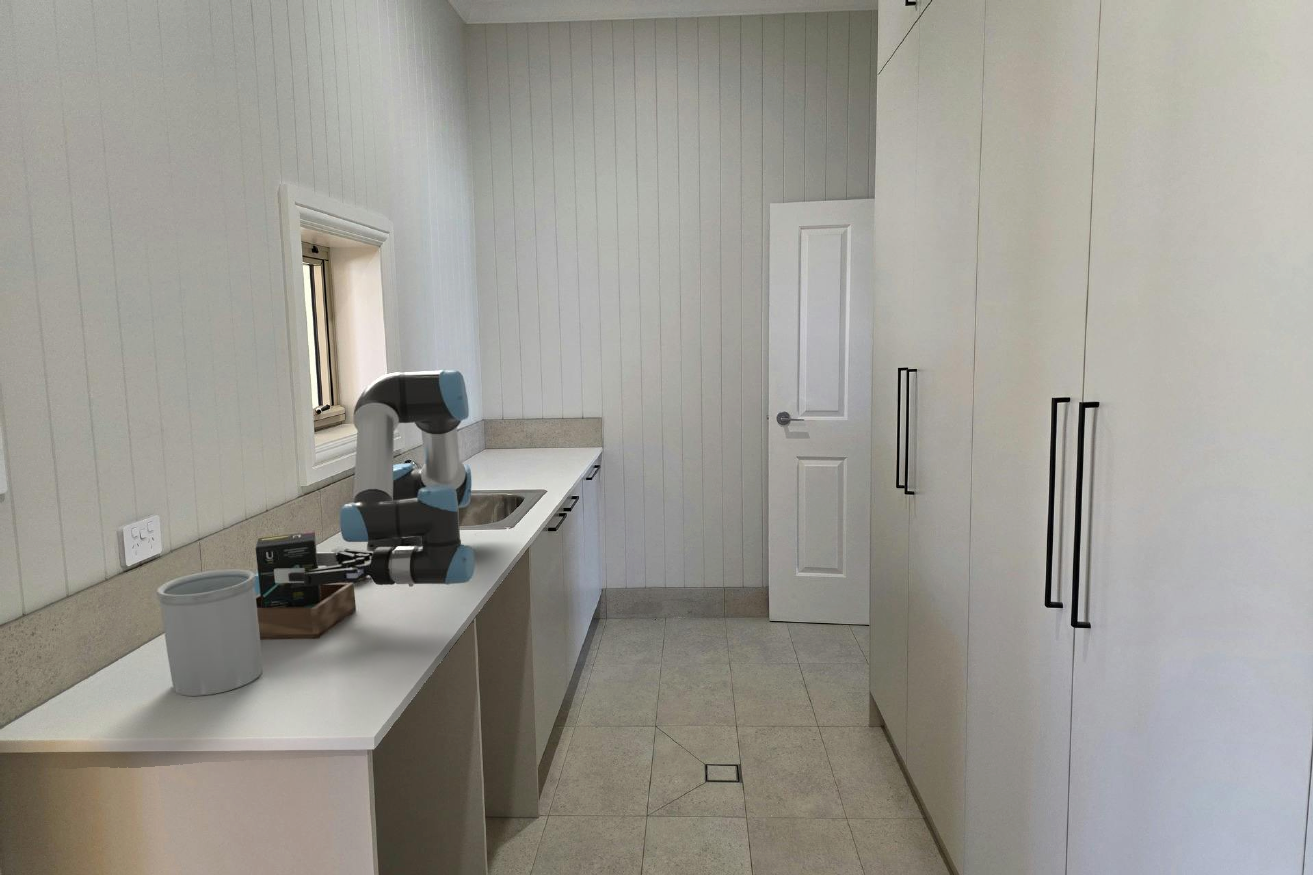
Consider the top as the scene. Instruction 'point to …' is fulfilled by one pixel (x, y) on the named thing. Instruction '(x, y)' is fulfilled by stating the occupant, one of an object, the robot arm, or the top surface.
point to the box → (308, 615)
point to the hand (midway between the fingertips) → (290, 567)
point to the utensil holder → (211, 631)
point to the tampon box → (286, 555)
